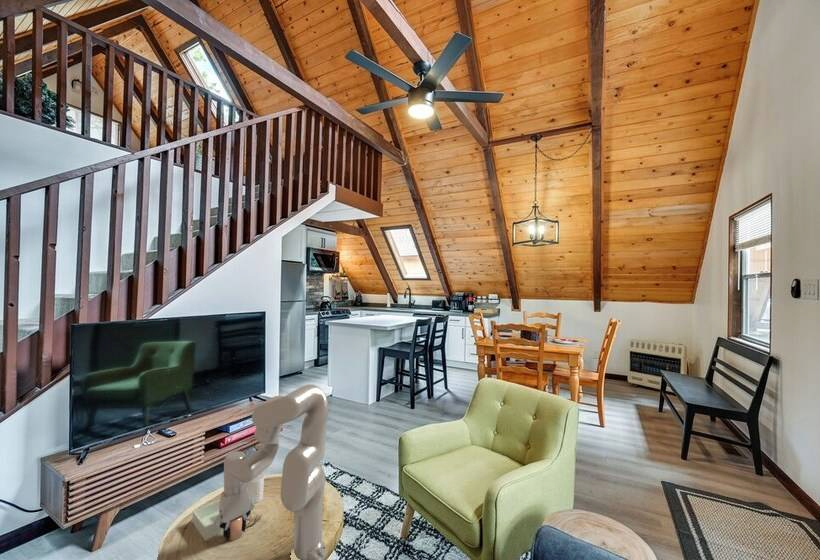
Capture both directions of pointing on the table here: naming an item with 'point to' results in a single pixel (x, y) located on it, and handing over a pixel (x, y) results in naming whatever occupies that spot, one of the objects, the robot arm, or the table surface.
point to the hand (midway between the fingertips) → (234, 533)
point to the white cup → (256, 488)
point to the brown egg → (235, 528)
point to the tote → (208, 520)
